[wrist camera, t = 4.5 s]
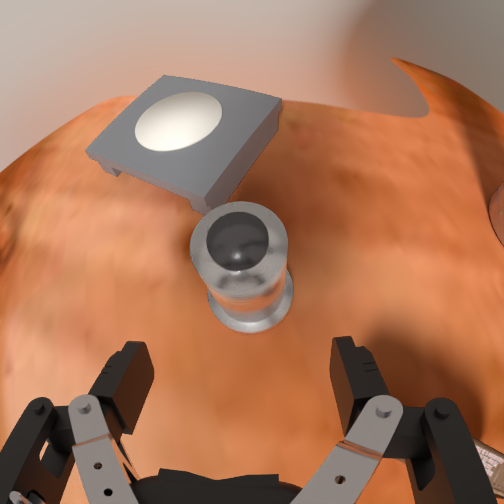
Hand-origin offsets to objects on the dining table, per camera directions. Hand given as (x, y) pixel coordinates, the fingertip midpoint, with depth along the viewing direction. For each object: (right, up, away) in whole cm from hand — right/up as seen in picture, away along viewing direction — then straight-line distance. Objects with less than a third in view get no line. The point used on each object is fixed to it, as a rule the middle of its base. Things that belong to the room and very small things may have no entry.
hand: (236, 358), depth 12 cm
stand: (-6, +16, +19) cm, 26 cm away
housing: (+1, +1, +12) cm, 12 cm away
